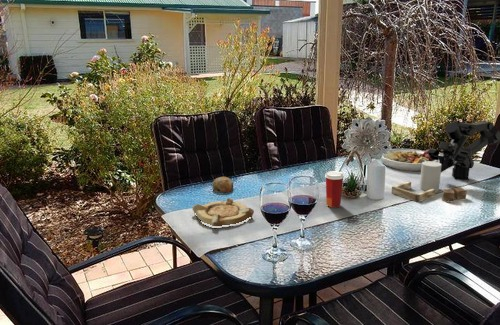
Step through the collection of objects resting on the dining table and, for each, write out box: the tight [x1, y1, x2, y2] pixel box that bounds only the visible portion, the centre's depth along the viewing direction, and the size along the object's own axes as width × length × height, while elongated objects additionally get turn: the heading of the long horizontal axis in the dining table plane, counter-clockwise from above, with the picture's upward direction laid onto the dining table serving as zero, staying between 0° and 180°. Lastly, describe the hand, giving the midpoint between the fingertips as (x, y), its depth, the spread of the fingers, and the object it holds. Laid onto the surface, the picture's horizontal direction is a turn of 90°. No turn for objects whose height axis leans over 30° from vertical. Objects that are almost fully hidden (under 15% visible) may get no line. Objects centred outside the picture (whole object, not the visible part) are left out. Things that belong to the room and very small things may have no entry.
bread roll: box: [211, 176, 234, 194], centre depth 199 cm, size 10×10×8 cm
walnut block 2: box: [451, 186, 468, 201], centre depth 183 cm, size 4×4×4 cm
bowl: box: [380, 148, 439, 172], centre depth 232 cm, size 30×30×8 cm
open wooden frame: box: [391, 180, 436, 203], centre depth 188 cm, size 12×13×3 cm
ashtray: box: [192, 197, 255, 226], centre depth 169 cm, size 24×24×5 cm
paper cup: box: [324, 170, 345, 208], centre depth 176 cm, size 8×8×14 cm
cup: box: [419, 161, 442, 193], centre depth 193 cm, size 8×8×12 cm
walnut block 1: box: [441, 188, 455, 203], centre depth 181 cm, size 4×4×4 cm
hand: (439, 172), depth 196 cm, fingers closed
